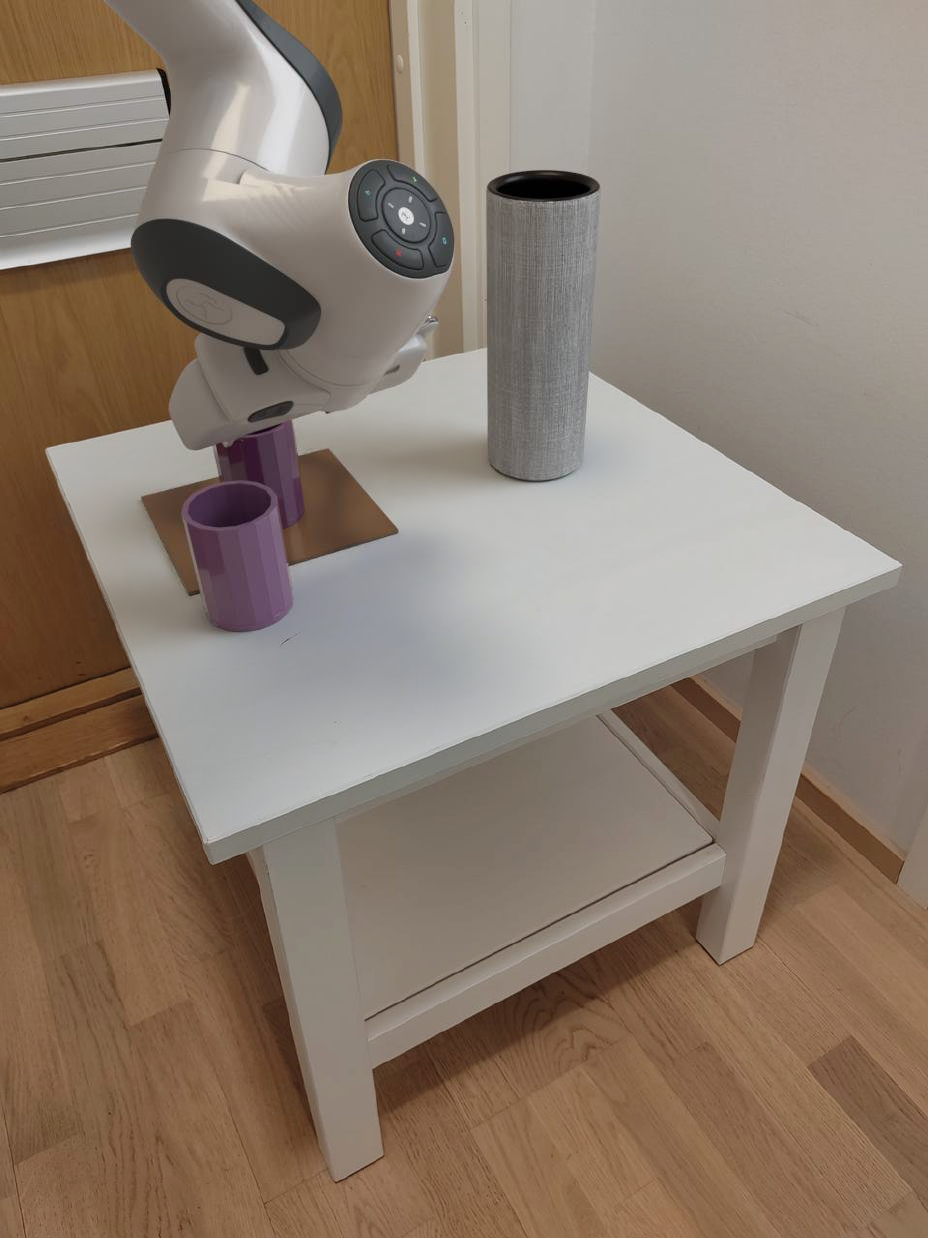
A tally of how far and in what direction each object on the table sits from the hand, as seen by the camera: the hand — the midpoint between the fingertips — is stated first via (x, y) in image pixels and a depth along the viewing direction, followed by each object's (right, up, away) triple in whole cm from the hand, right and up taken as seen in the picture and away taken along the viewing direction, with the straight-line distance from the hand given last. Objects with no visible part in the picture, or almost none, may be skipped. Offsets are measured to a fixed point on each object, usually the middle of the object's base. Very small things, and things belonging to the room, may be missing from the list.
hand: (280, 419), depth 80 cm
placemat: (-4, -7, +13) cm, 15 cm away
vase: (+23, 0, +20) cm, 31 cm away
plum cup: (-4, -6, +12) cm, 14 cm away
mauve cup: (-3, -15, +2) cm, 16 cm away
